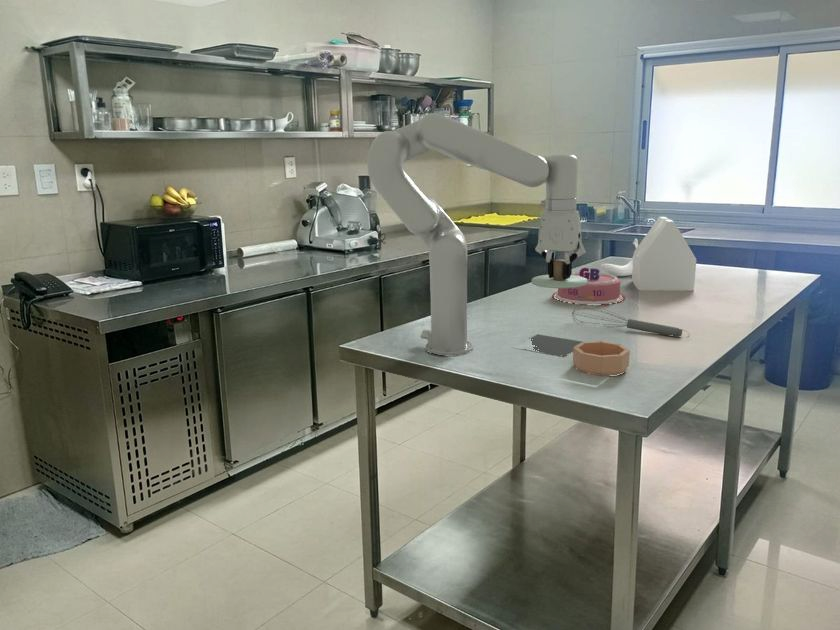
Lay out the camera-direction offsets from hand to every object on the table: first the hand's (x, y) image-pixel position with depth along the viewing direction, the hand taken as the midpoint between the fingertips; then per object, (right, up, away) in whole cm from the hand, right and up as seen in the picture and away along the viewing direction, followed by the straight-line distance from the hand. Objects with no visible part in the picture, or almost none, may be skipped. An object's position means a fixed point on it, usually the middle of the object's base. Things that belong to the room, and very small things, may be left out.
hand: (559, 277), depth 171 cm
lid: (0, -1, 0) cm, 1 cm away
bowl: (+8, -23, -11) cm, 26 cm away
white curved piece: (+46, +6, +98) cm, 108 cm away
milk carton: (+55, +1, +78) cm, 95 cm away
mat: (-1, -18, +7) cm, 20 cm away
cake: (+23, -4, +63) cm, 67 cm away
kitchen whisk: (+24, -14, +22) cm, 35 cm away
